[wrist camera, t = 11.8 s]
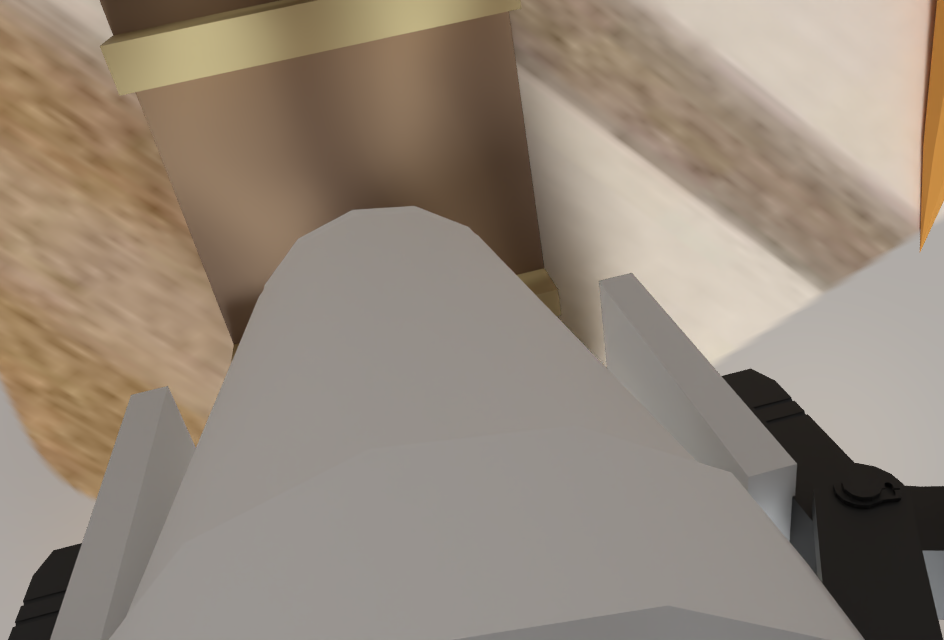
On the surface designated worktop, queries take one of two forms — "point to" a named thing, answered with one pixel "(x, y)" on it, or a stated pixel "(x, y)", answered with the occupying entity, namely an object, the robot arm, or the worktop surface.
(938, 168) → the carrot
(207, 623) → the foam cup
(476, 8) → the rack
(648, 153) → the worktop surface
